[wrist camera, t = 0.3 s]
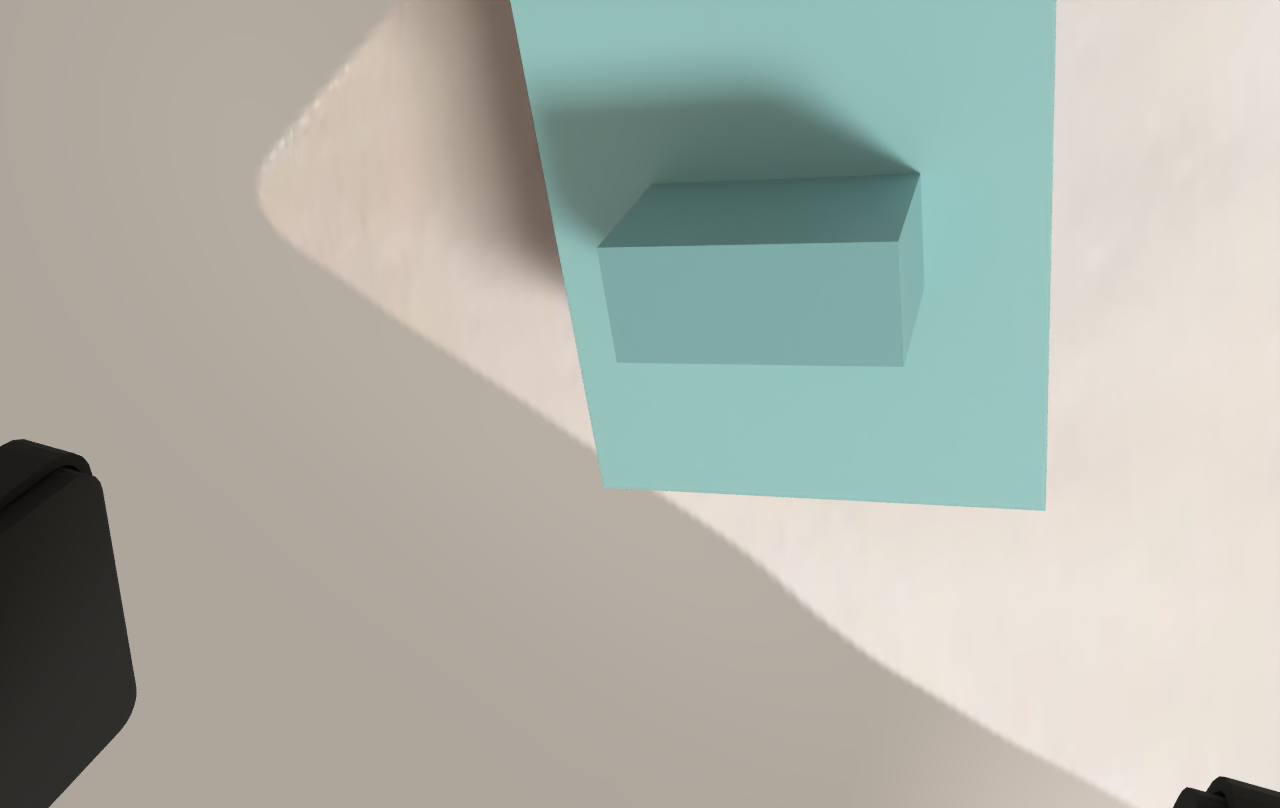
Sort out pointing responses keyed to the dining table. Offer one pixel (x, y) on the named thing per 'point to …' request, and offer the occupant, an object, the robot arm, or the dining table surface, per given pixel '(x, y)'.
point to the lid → (805, 240)
